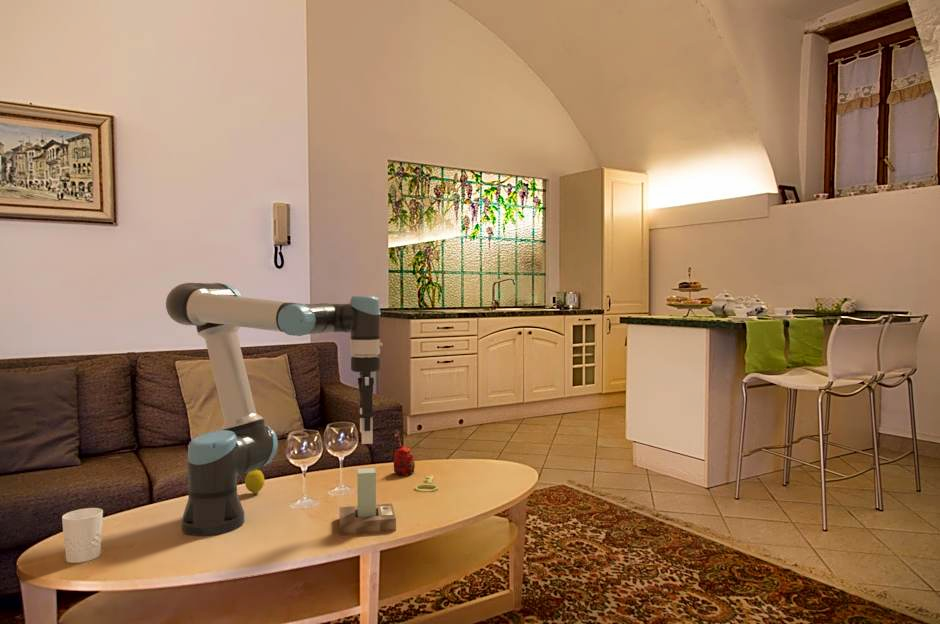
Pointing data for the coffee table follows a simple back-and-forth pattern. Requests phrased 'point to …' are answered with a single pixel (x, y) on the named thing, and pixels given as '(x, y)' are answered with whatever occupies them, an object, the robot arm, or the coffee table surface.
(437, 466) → the coffee table surface
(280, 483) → the coffee table surface
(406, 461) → the red clay folk toy
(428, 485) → the key
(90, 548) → the white cup
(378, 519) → the socket block
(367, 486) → the sage peg
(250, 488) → the fruit
